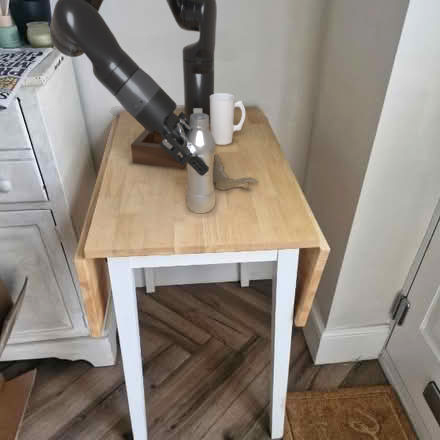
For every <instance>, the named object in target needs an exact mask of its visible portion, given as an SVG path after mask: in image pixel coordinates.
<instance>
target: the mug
mask: <svg viewBox="0 0 440 440" xmlns="http://www.w3.org/2000/svg"><path fill="white" fill-rule="evenodd" d="M235 98H236V96H235V95H233V94H231V93H225V92H218V93H217V92H216V93H214V94H212V95H211V96H210V122H209V127H210V129H209V131H210V132H211V134H212V135H213V137H214V139H215V143H216V145H220V146H226V145H229V144H231V143H232V142H233V137H234V136H233V135H234V132H237V131H238V132H239V131H241V130H242V128H243V125H244V122H245V120H246V108H245V105H244V103H243V100H242V99H241V100H237V101H235ZM235 108H239V109H240V111H241V117H240V120H239V122H238V123H237V124H234V119H235Z"/></svg>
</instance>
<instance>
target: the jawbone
mask: <svg viewBox="0 0 440 440" xmlns="http://www.w3.org/2000/svg"><path fill="white" fill-rule="evenodd" d="M259 182H260V181H258V180H257V179H256V178H253V177H250V176H249V177H247V176H246V177H240V178H228V176H227V175H226V174H225V172H224V165H221V155H220V154H218V153H217V154H214V164H213V183H214V184H215V188H216V189H218V190H222V191H225V190H226V191H227V190H229V189H232V188H243V189H244V190H246V191H247V190H248V187H249V183H252V184H259Z"/></svg>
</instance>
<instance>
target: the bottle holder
mask: <svg viewBox="0 0 440 440" xmlns="http://www.w3.org/2000/svg"><path fill="white" fill-rule="evenodd" d="M162 141H163V137H162V136H161V134H160V133H159V132H158V131H156V132H155V133H153V134H150V133H149V132H148V131H147V130H146V129H145V128H144V129H143V130H142V132H141V133H140V134H139V135H138V136H137V137H136V138H135V139H134V141H132V142H131V143H130V150H131V157H132V158H131V159H132V164H137V165H145V166H152V167H153V166H154V167H163V168H164V167H165V168H172V169H181V170H183V169H184V168H185V167H186V166H187V164H184V165H181V164H180V163H179V162H178V161H176V160H175V159H174V158H173V157H172V156H171V155H170V154H168V153H167V152H166V151H165V150H164V149H163V148H162V147H161V146H160V143H161V142H162ZM178 156H179V157H181V156H180V155H178Z"/></svg>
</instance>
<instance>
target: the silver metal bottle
mask: <svg viewBox="0 0 440 440" xmlns="http://www.w3.org/2000/svg"><path fill="white" fill-rule="evenodd" d="M190 127H191V129H190V131H189V132H188V133H187V135H186V136H187V138H188V139H189V141H190V147H191V149H192V150H193V151H194V152H195V154H196V155H197V156H198V157H199V158H200V159H201V160H202V161H203V162H204V163H205V164H206V165H207V166H208V167H209V170H208V172H207V173H206V174H204V175H203V176H201V175H200V174H199V173H198V172H197V171H196V170H195V169H194V168H193V167H192V166H191V165H190V164H189V163H188V164H186V169H187V170H186V171H187V181H186V184H187V185H186V191H185V202H186V205H187V207H188V209H189V210H190V211H191V212H194V213H196V214H206V213H209V212H211V211H212V210H213V209H214V207H215V205H216V199H217V198H216V192H215V185H214V181H213V167H214V162H215V160H214V155H215V153H216V147H217V146H216V145H217V144H216V143H215V139H214V137H213V135H212V134H211V132H210V129H209V127H210V122H209V116H208V115H207V114H204V113H194V114H191V115H190ZM186 150H187V149H186ZM187 151H188V150H187Z"/></svg>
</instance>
